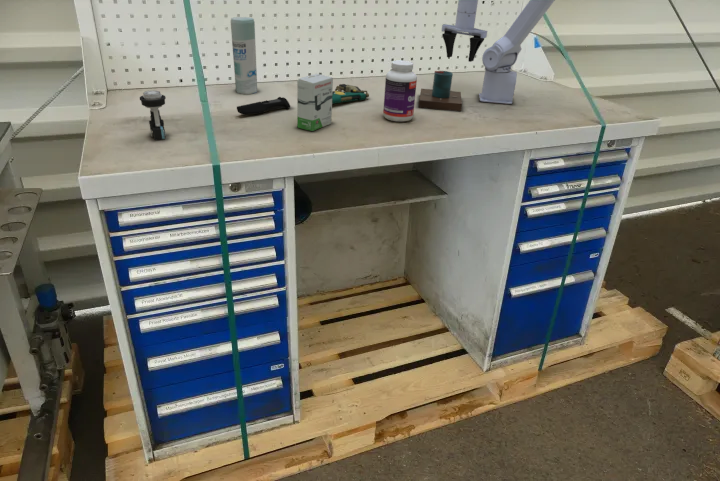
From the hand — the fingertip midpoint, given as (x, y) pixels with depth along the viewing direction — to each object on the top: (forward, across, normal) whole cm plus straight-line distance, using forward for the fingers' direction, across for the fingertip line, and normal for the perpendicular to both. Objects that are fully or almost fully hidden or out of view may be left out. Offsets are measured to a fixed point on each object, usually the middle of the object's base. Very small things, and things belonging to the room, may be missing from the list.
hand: (460, 59), depth 164 cm
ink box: (+10, -7, -60) cm, 61 cm away
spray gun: (+10, -18, -37) cm, 42 cm away
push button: (+10, -27, -91) cm, 95 cm away
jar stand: (+9, +5, -18) cm, 21 cm away
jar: (+7, +5, -18) cm, 20 cm away
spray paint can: (+10, -42, -51) cm, 67 cm away
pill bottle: (+10, +4, -39) cm, 41 cm away
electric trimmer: (+10, -24, -61) cm, 66 cm away
